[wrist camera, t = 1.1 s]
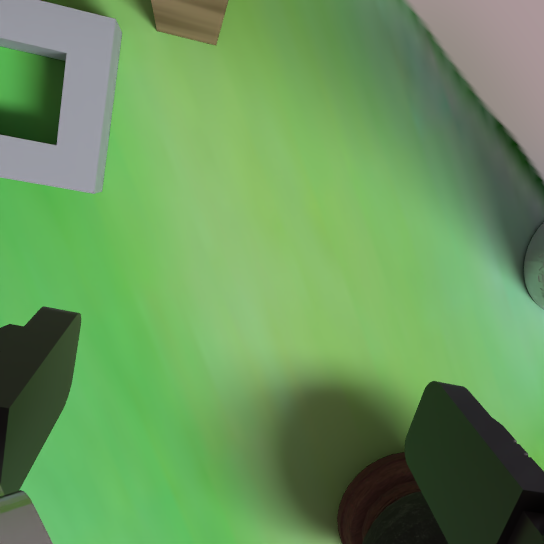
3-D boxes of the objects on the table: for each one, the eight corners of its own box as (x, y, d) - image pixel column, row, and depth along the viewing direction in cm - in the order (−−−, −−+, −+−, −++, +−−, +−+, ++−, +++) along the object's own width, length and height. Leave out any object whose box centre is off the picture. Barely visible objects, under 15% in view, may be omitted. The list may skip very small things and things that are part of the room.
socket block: (-54, -10, 29) (-80, -30, 26) (122, 32, 31) (115, 19, 28) (-66, 161, 30) (-91, 161, 28) (101, 191, 33) (94, 193, 30)
